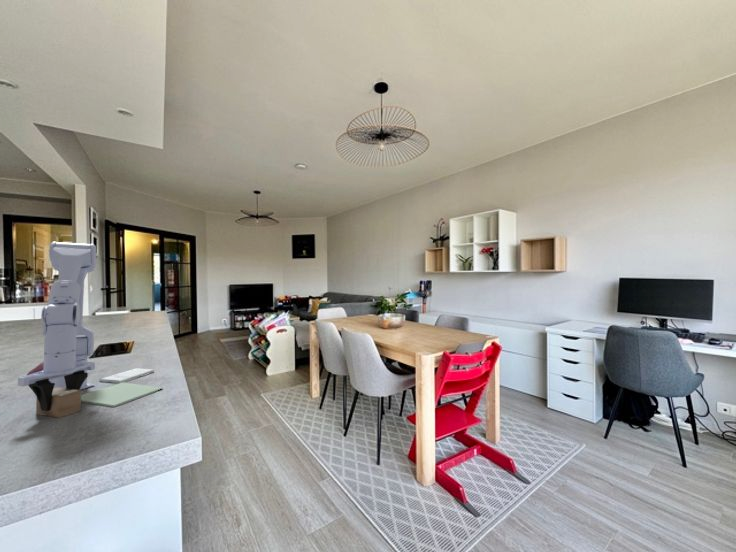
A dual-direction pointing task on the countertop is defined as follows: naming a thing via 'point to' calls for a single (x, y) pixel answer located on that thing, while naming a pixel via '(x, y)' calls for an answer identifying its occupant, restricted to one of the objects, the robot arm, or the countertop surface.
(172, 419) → the countertop surface
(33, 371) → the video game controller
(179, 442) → the countertop surface
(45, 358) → the robot arm
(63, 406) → the labeled brown box
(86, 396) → the sage mat
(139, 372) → the external hard drive
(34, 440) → the countertop surface
